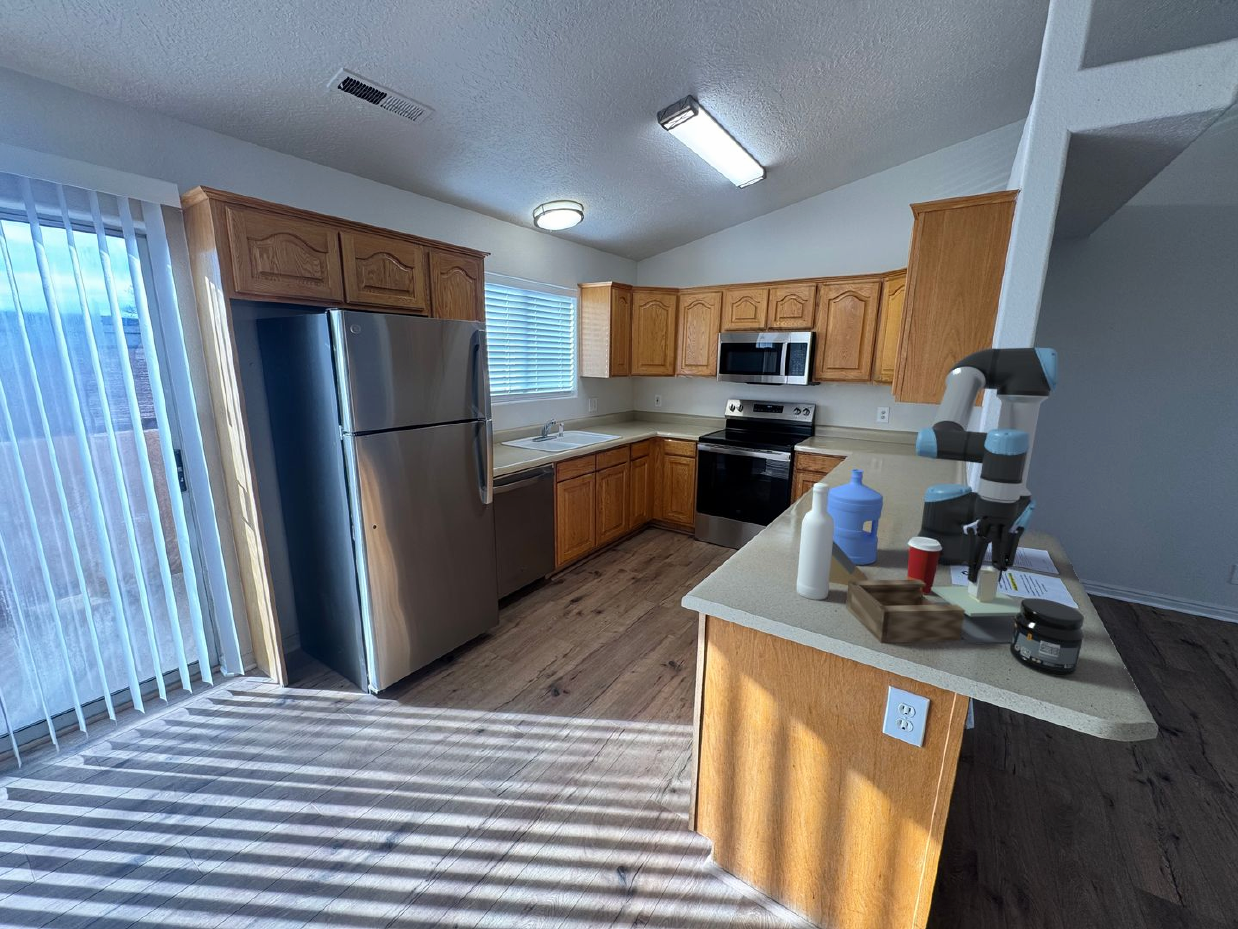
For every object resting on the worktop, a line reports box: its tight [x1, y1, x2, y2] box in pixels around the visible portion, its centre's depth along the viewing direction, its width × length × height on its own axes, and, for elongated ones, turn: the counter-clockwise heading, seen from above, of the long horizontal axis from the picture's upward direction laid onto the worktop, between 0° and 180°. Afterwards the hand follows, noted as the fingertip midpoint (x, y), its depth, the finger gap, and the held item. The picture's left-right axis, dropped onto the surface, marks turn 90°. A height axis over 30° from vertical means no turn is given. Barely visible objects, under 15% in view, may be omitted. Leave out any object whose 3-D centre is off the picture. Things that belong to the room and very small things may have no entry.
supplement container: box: [1009, 597, 1085, 677], centre depth 99 cm, size 10×10×12 cm
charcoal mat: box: [932, 601, 1015, 645], centre depth 115 cm, size 18×18×1 cm
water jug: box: [827, 469, 884, 566], centre depth 152 cm, size 16×16×28 cm
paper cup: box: [906, 536, 942, 595], centre depth 131 cm, size 8×8×14 cm
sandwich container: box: [829, 541, 868, 586], centre depth 138 cm, size 9×15×15 cm, turn 61°
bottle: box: [796, 482, 834, 601], centre depth 127 cm, size 8×8×30 cm
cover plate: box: [931, 567, 1021, 617], centre depth 114 cm, size 15×13×8 cm
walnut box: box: [845, 579, 965, 643], centre depth 114 cm, size 18×15×7 cm
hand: (981, 594), depth 114 cm, fingers closed on cover plate, 3 cm apart
